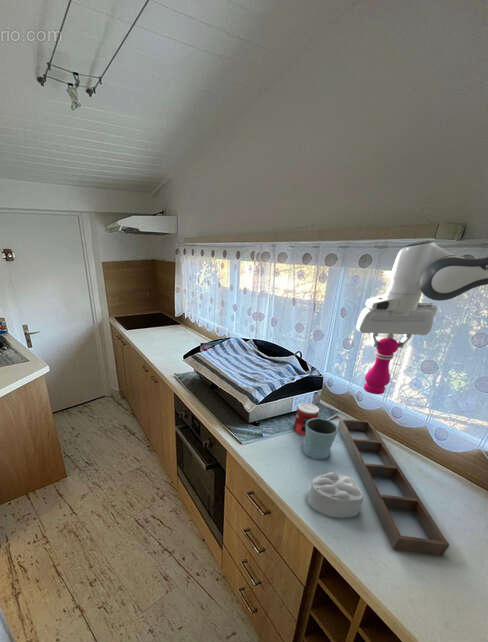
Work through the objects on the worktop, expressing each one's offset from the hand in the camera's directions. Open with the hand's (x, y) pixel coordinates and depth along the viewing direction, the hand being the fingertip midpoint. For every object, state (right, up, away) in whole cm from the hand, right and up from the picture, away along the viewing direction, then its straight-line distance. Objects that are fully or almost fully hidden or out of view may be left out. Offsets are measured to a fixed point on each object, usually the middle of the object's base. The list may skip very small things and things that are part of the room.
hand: (386, 346), depth 98 cm
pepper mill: (0, -14, +7) cm, 16 cm away
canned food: (-18, -30, +24) cm, 42 cm away
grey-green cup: (-18, -37, +12) cm, 42 cm away
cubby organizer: (-3, -42, 0) cm, 42 cm away
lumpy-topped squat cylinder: (-22, -48, -9) cm, 54 cm away
